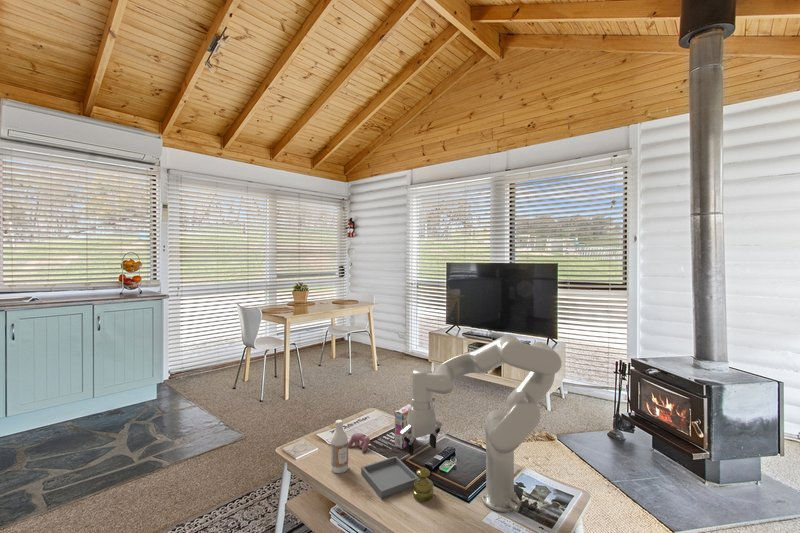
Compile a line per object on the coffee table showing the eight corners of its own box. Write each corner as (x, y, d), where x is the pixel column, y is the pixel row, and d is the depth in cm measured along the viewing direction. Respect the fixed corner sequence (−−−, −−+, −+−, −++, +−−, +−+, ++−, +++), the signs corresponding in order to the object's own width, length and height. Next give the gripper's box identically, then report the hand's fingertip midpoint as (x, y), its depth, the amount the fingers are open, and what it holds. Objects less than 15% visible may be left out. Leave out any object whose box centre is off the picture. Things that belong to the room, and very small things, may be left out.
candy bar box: (403, 450, 168) (403, 414, 167) (394, 446, 171) (394, 411, 170) (417, 439, 177) (416, 405, 176) (408, 437, 180) (407, 403, 179)
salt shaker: (410, 499, 134) (409, 472, 134) (417, 487, 141) (417, 461, 140) (429, 505, 131) (429, 477, 131) (436, 492, 138) (436, 466, 137)
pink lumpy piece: (368, 453, 169) (372, 436, 171) (363, 452, 165) (367, 435, 168) (351, 447, 174) (355, 431, 176) (345, 447, 170) (350, 430, 173)
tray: (419, 485, 142) (419, 477, 142) (381, 499, 134) (381, 491, 134) (396, 462, 158) (395, 455, 157) (361, 474, 150) (361, 467, 150)
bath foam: (335, 476, 149) (334, 426, 148) (328, 467, 155) (327, 420, 154) (351, 470, 153) (350, 421, 152) (343, 462, 158) (343, 415, 158)
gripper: (435, 395, 142) (435, 439, 143) (396, 404, 134) (395, 451, 134) (447, 402, 136) (447, 448, 136) (406, 412, 127) (406, 461, 128)
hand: (421, 450), depth 135 cm, fingers open, 9 cm apart
